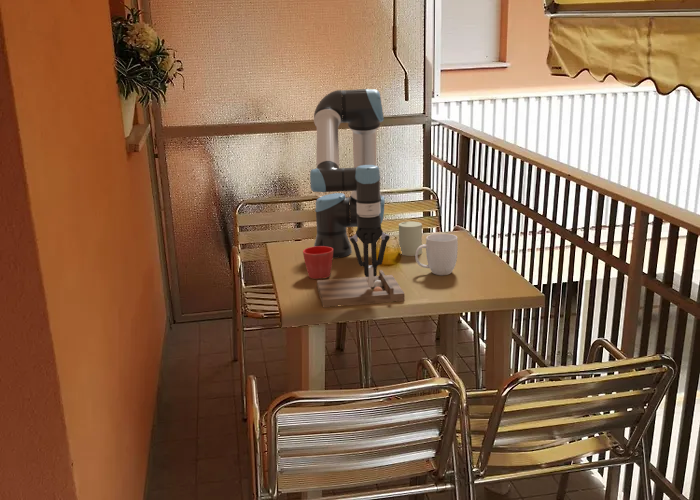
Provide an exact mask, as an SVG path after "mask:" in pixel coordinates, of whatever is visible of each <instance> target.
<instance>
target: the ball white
mask: <svg viewBox="0 0 700 500" xmlns="http://www.w3.org/2000/svg"><path fill="white" fill-rule="evenodd" d="M375 287H381V288H382V287H383V283H382V281H381V280H376V281H375V282H374V287H373V289H374V288H375ZM382 289H383V288H382Z"/></svg>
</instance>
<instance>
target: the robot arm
mask: <svg viewBox="0 0 700 500" xmlns="http://www.w3.org/2000/svg"><path fill="white" fill-rule="evenodd" d="M313 122H314V123H313V124H314V125H315V127H316V168H312V169H310V172H309V180H310V181H309V182H310V189H311V191H312V192H314V193H328V194H325V195H322V196H319V197H318V198H317V199H316V201H315V209H314V211H315V217H316V218H315V220H316V222H315V223H316V236H315V241H314V245H313V247H315V246H327V247H331V248H333V259H338V258H344V257H347V256H349V255H351V254H352V253H353V252H352V245H353V249H354V254H355V256H356V259H357V262H358V265H359V266H360V267H363V268H364V269H363V271H364V272H363V274H364V277H368V286H369V287H371V288H374V276H378V275H377V274H378V272H377V271H378V270H377V267H378V266H381V265H382V264H383V261H384V256H385V252H386V247H387V243H388V242H389V240H390V235H389V234H388V233H385V232H384V230H383V229H382V223H383V221H384V215H385V203H386V202H385V200H386V199H385V196H383V195H382V193H381V174H380V167H379V166H378V165H377V130H378V129H380V128H381V127H380V126H381V123H382V122H384V112H383V105H382V98H381V94H380V91H379V90H378V89H374V88H372V89H370V88H369V89H368V88H362V89H357V88H356V89H343V90H342V89H337V90H333V91H331V92H330V93H328V94H326V95H325V96H323V98H322V99H321V100H320V101H319V102H318V103H317V105H316V108H315V110H314V114H313ZM342 123H343V124H347V128H349V130H350V131H352V154H353V155H352V157H353V160H352V161H353V167H340V148H339V147H340V146H339V145H340V144H339V127H340V125H341V124H342ZM332 192H335V193H332ZM342 192H350V196H349V197H346V194H345V193H342ZM329 193H330V194H329ZM347 228H357V229H356V231H355V234H354V235H351V236H349V237H348V234H347ZM358 239H359V240H360V242H361V243H362V246H363V247H362V249H363V251H362V252H363V260H362V256H361V252H360V247H359V245H358ZM380 239H381V243H380V246H379V252H378V255H377V243H378V241H379V240H380ZM351 244H352V245H351ZM369 244H370V246H371V247H370V248H371V250H370V251H371V265H370V262H369V259H370V258H369Z"/></svg>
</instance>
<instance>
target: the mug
mask: <svg viewBox="0 0 700 500" xmlns="http://www.w3.org/2000/svg"><path fill="white" fill-rule="evenodd" d="M458 245H459V244H458V236H457V235H455V234H452V233H444V232H443V233H431V234H428V235H427V236H426V237H425V244H424V243H422V245H421V246H419V247H418V248H417V250H416V254H415V256H414V257H415V262H416V264H417V265H418V266H419V267H421V268H424V269H430V271H431V273H432V274H434V275H436V276H449V275H451V273H452V272H453V270H454V269H455V267H456V263H457V262H458V261H457V259H458V249H459V248H458ZM421 248H422V249H425V253H426V261H427V264H424V263H421V262H420V259H419V255H418V252H419V250H420V249H421Z"/></svg>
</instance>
